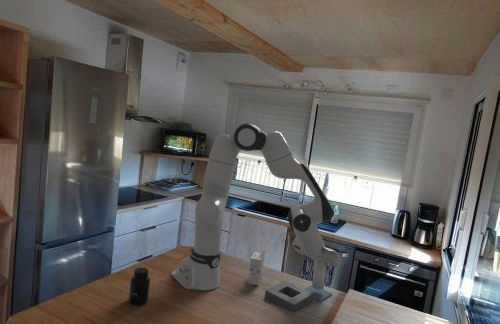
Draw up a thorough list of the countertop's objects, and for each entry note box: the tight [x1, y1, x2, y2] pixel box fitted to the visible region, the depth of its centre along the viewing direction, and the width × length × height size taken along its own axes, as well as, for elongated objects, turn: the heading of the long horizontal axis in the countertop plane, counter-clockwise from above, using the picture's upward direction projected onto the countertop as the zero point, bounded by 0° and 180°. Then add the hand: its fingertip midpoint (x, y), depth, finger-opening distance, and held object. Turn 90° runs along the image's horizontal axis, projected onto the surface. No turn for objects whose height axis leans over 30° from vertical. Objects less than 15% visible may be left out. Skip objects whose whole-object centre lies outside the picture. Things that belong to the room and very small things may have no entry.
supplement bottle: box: [128, 267, 151, 306], centre depth 124 cm, size 7×7×12 cm
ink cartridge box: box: [248, 247, 266, 286], centre depth 152 cm, size 9×5×15 cm, turn 168°
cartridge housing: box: [264, 280, 314, 313], centre depth 140 cm, size 14×14×3 cm
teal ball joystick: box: [311, 259, 328, 290], centre depth 146 cm, size 5×5×14 cm
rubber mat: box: [303, 284, 333, 303], centre depth 147 cm, size 10×10×1 cm
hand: (321, 262), depth 146 cm, fingers closed on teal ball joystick, 5 cm apart
